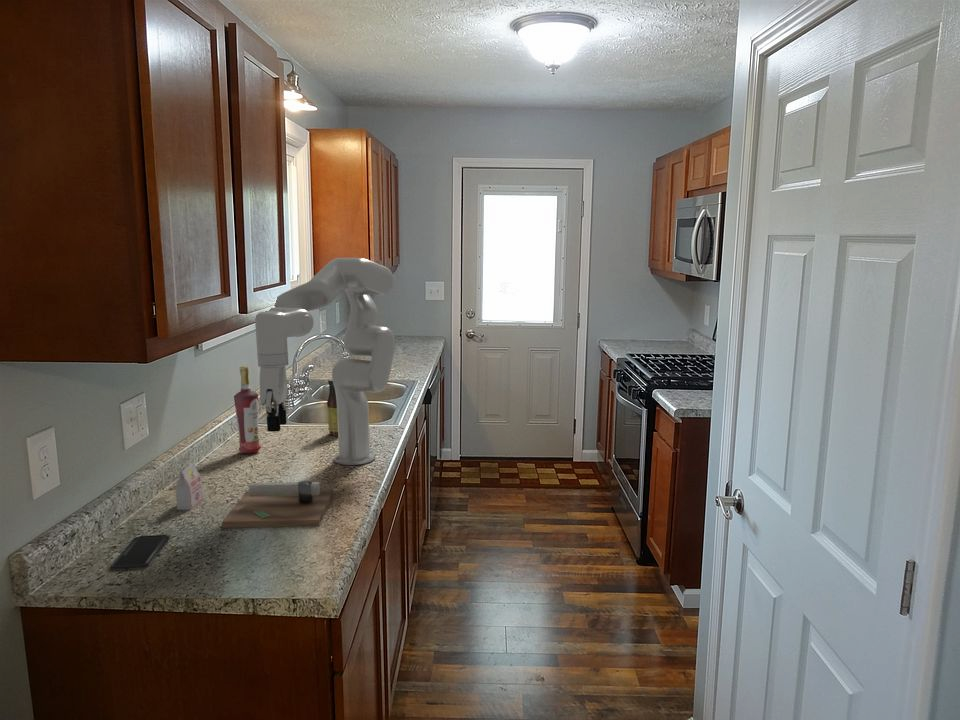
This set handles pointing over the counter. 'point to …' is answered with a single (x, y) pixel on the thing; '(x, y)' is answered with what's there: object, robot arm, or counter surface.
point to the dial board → (278, 511)
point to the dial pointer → (286, 490)
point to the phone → (140, 552)
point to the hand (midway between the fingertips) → (277, 427)
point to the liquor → (247, 415)
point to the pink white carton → (189, 489)
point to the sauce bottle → (332, 409)
